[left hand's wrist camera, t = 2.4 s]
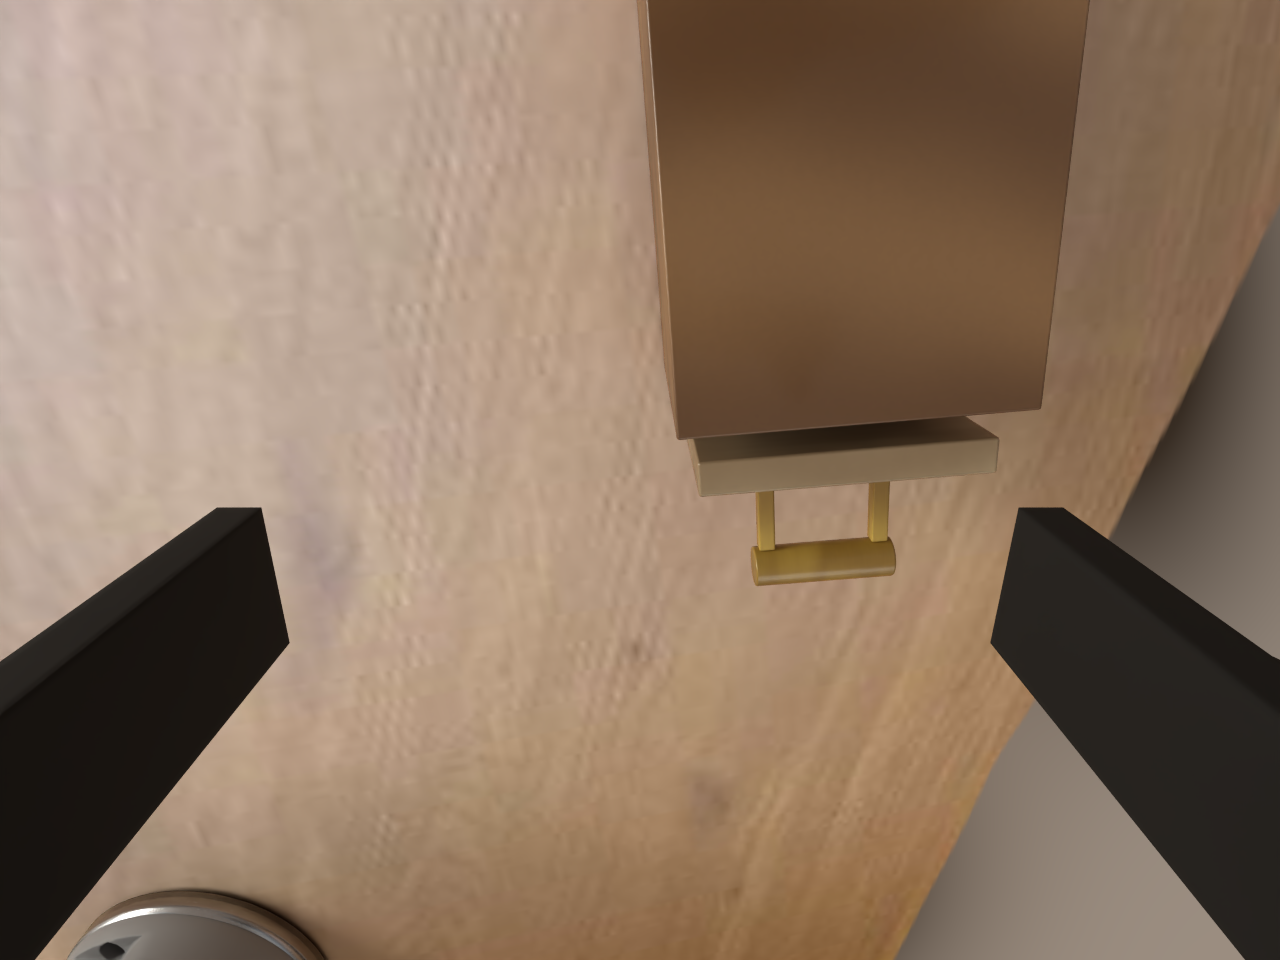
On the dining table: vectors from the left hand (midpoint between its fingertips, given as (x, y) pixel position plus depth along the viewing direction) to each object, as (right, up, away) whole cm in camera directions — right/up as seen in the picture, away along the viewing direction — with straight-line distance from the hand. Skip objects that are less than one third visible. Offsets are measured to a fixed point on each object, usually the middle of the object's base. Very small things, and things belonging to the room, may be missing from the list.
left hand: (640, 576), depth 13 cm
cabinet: (+6, +15, +14) cm, 21 cm away
